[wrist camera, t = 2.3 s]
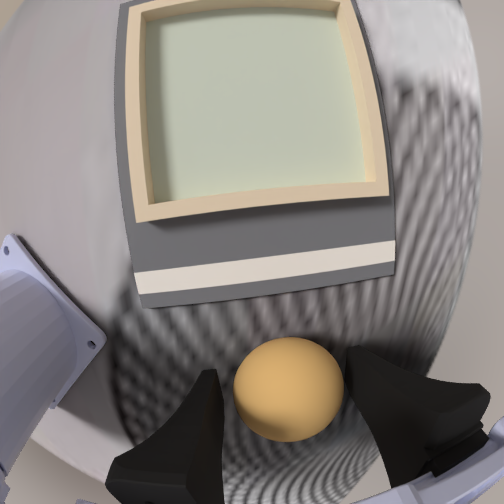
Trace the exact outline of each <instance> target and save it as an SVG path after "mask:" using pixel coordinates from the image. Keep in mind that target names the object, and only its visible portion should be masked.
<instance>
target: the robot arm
mask: <svg viewBox="0 0 504 504" xmlns="http://www.w3.org/2000/svg"><path fill="white" fill-rule="evenodd" d="M8 248H9V251H8ZM91 341H93V342H94V343H95V345H96V346H95V345H93V344H92V343H91ZM106 341H107V337H106V335H105V333H104V332H103V331H102V330H101V329H100V328H99V327H98V326H97V325H96V324H95V323H94V322H92V321H91V320H90V319H89V318H88V317H87V316H86V315H85V314H84V313H83V312H82V311H81V310H80V309H79V308H78V307H77V306H76V305H75V304H74V303H73V302H72V301H71V300H70V299H69V298H68V297H67V296H66V295H65V294H64V293H63V291H62V290H61V289H60V288H59V287H58V286H57V285H56V284H55V283H54V282H53V281H52V279H51V278H50V277H49V276H48V275H47V274H46V273H45V271H44V270H43V269H42V268H41V267H40V266H39V264H38V263H37V262H36V261H35V259H34V258H33V257H32V256H31V255H30V253H29V252H28V251H27V249H26V248H25V247H24V246H23V244H22V243H21V242H20V240H19V239H18V238H17V236H16V235H15V234H9V235H7V236H6V237H5V239H4V242H3V244H2V247H1V249H0V504H5V502H4V501H5V499H6V497H7V494H8V492H9V490H10V488H9V486H8V485H7V484H6V483H5V477H6V476H7V475H8V473H9V472H10V470H11V468H12V466H13V465H14V463H15V461H16V459H17V458H18V456H19V454H20V452H21V451H22V449H23V447H24V446H25V444H26V442H27V441H28V439H29V437H30V436H31V434H32V433H33V431H34V429H35V428H36V426H37V425H38V423H39V422H40V420H41V418H42V417H43V415H44V414H45V412H46V411H47V409H48V408H50V409H55V407H56V406H57V405H58V403H59V402H60V401H61V399H62V398H63V397H64V395H65V394H66V393H67V391H68V390H69V389H70V387H71V386H72V385H73V383H74V382H75V381H76V380H77V378H78V377H79V376H80V374H81V373H82V372H83V371H84V369H85V368H86V367H87V366H88V364H89V363H90V362H91V361H92V359H93V358H94V357H95V356H96V354H97V353H98V352H99V351H100V350H101V348H102V347H103V346H104V344H105V343H106ZM345 382H346V385H347V388H348V390H349V393H350V395H351V397H352V399H353V401H354V402H355V404H356V406H357V407H358V409H359V411H360V412H361V414H362V416H363V418H364V419H365V421H366V423H367V424H368V426H369V428H370V430H371V432H372V434H373V436H374V439H375V441H376V443H377V446H378V448H379V451H380V454H381V456H382V459H383V462H384V465H385V468H386V471H387V474H388V477H389V481H390V485H391V489H390V490H387V491H385V492H382V493H380V494H377V495H375V496H371V497H369V498H366V499H363V500H360V501H357V502H354V503H351V504H470V503H472V502H473V501H474V500H475V499H477V498H478V497H479V496H481V495H482V494H483V493H484V492H486V491H487V490H488V489H489V488H490V487H491V486H493V485H494V484H495V483H496V482H498V481H499V480H500V479H501V478H502V477H503V476H504V416H503V417H502V418H501V419H499V420H498V421H497V422H496V423H495V424H494V426H493V427H492V429H491V430H490V432H489V434H488V435H486V434H485V432H484V431H483V430H482V428H483V424H482V422H481V421H480V420H481V418H482V416H483V414H484V413H485V411H486V409H487V407H488V404H489V402H490V393H489V392H488V391H487V390H486V389H485V388H484V387H482V386H481V385H480V384H477V383H471V384H469V383H453V382H445V381H440V380H436V379H431V378H427V377H424V376H421V375H418V374H415V373H412V372H409V371H407V370H405V369H402V368H400V367H398V366H396V365H394V364H392V363H390V362H388V361H386V360H384V359H382V358H381V357H379V356H377V355H375V354H373V353H372V352H370V351H368V350H367V349H365V348H363V347H361V346H359V345H358V346H354V347H349V348H347V357H346V370H345ZM223 431H224V400H223V396H222V392H221V388H220V383H219V379H218V375H217V370H216V369H210V370H203V371H202V372H201V374H200V376H199V377H198V379H197V381H196V383H195V384H194V386H193V388H192V389H191V391H190V393H189V394H188V396H187V397H186V399H185V400H184V401H183V403H182V404H181V405H180V407H179V408H178V409H177V411H176V412H175V413H174V414H173V415H172V417H171V418H170V419H169V420H168V421H167V422H166V423H165V424H164V425H163V426H162V427H161V428H160V429H159V430H158V431H156V432H155V433H154V434H153V435H152V436H150V437H149V438H148V439H146V440H145V441H144V442H142V443H141V444H139V445H138V446H136V447H134V448H133V449H131V450H129V451H127V452H125V453H123V454H121V455H119V456H117V457H115V458H114V460H113V462H112V464H111V467H110V469H109V472H108V476H107V479H106V482H105V486H106V488H107V489H108V491H109V492H110V493H111V494H112V495H113V496H114V497H115V498H116V499H117V500H118V501H119V502H120V503H121V504H225V503H224V492H223V479H222V444H223ZM76 504H96V503H92V502H88V501H85V500H81V499H77V501H76Z"/></svg>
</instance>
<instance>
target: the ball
mask: <svg viewBox="0 0 504 504" xmlns="http://www.w3.org/2000/svg"><path fill="white" fill-rule="evenodd" d="M343 394H344V381H343V376H342V372H341V370H340V368H339V365H338V363H337V362H336V360H335V359H334V358H333V356H332V355H331V354H330V353H329V352H328V351H327V350H326V349H324V348H323V347H322V346H320V345H318V344H316V343H314V342H312V341H310V340H307V339H302V338H296V337H284V338H278V339H274V340H271V341H268V342H266V343H264V344H262V345H260V346H258V347H257V348H255V349H254V350H253V351H252V352H251V353H250V354H249V355H248V356H247V357H246V358H245V359H244V360H243V362H242V363H241V365H240V367H239V368H238V370H237V373H236V376H235V379H234V383H233V398H234V404H235V406H236V409H237V412H238V414H239V416H240V417H241V419H242V420H243V422H244V423H245V424H246V425H247V426H248V427H249V428H250V429H251V430H252V431H254V432H255V433H257V434H258V435H260V436H262V437H265V438H267V439H270V440H274V441H280V442H294V441H300V440H304V439H307V438H309V437H312V436H314V435H316V434H317V433H319V432H320V431H322V430H323V429H324V428H325V427H326V426H328V425H329V424H330V422H331V421H332V420H333V419H334V417H335V416H336V414H337V413H338V411H339V408H340V406H341V403H342V400H343Z"/></svg>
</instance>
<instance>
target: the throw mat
mask: <svg viewBox="0 0 504 504" xmlns="http://www.w3.org/2000/svg"><path fill="white" fill-rule="evenodd" d="M114 114H115V138H116V153H117V165H118V175H119V184H120V193H121V201H122V208H123V215H124V221H125V227H126V233H127V239H128V245H129V250H130V255H131V260H132V265H133V270H134V275H135V280H136V284H137V288H138V292H139V296H140V300H141V304H142V308H155V307H166V306H177V305H187V304H197V303H206V302H215V301H224V300H232V299H240V298H248V297H256V296H264V295H271V294H278V293H285V292H292V291H299V290H306V289H312V288H319V287H325V286H331V285H337V284H343V283H349V282H355V281H360V280H366V279H371V278H377V277H382V276H387V275H393V274H394V263H395V211H394V190H393V176H392V165H391V155H390V146H389V138H388V131H387V124H386V118H385V112H384V106H383V101H382V96H381V91H380V86H379V81H378V77H377V73H376V68H375V64H374V60H373V57H372V53H371V49H370V46H369V42H368V39H367V35H366V32H365V29H364V26H363V23H362V20H361V17H360V14H359V11H358V8H357V5H356V3H355V0H133V1H130V2H126V3H123V4H120V10H119V18H118V27H117V38H116V52H115V75H114Z"/></svg>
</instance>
